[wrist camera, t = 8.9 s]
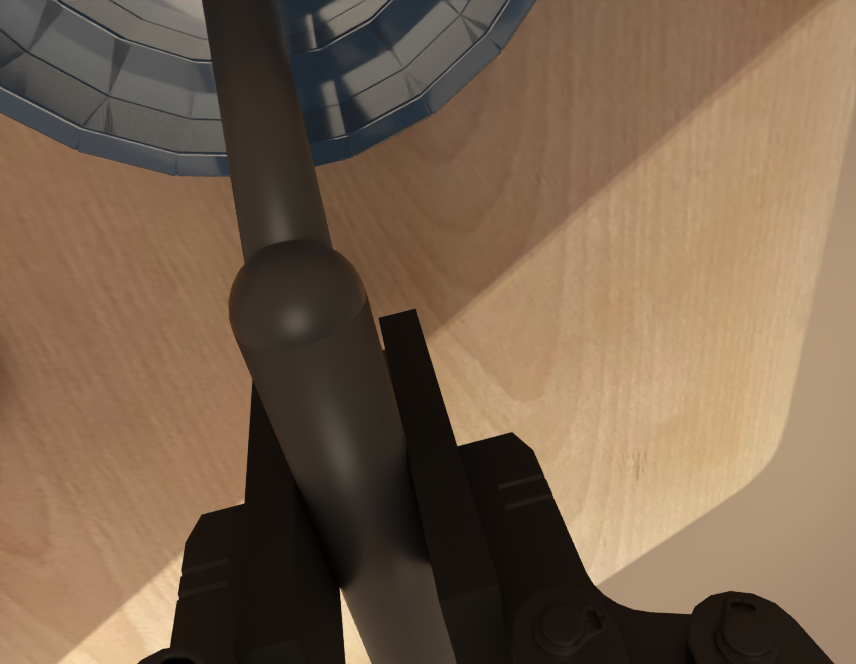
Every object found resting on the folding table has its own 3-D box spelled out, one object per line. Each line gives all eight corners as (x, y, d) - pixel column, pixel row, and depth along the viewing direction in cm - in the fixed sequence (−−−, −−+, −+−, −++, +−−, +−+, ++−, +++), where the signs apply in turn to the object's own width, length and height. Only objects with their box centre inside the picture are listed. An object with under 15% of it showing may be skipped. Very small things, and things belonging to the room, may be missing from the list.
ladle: (-87, -470, 11) (-1239, -1584, 3) (290, -542, 11) (326, -1749, 3) (279, 422, 21) (279, 756, 13) (466, 373, 22) (580, 670, 14)
